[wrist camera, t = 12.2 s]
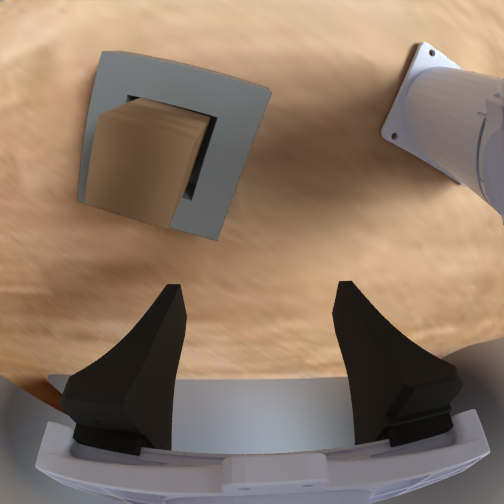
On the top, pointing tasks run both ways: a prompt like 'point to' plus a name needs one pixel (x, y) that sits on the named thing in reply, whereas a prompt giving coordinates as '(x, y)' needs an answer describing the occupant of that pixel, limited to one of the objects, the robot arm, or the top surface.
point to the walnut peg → (144, 159)
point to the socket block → (194, 98)
